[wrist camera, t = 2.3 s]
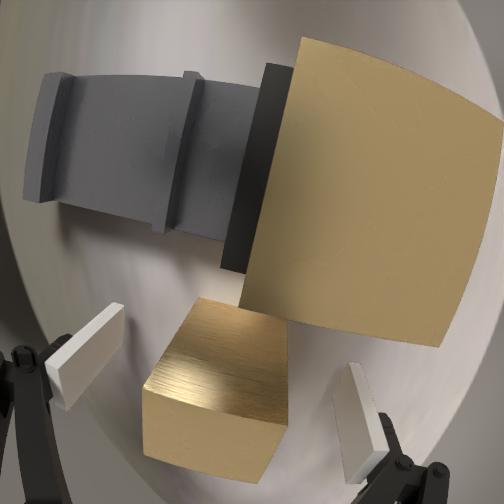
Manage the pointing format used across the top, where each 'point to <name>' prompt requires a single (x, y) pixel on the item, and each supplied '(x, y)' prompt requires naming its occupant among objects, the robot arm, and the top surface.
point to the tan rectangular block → (219, 393)
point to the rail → (141, 147)
